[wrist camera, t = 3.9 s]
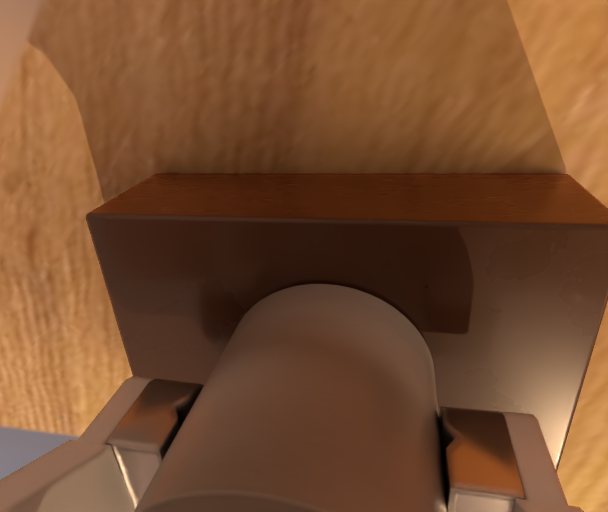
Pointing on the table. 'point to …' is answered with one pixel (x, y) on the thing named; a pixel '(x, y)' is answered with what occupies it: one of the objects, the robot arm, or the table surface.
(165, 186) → the panel
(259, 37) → the table surface
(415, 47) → the table surface
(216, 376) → the knob
